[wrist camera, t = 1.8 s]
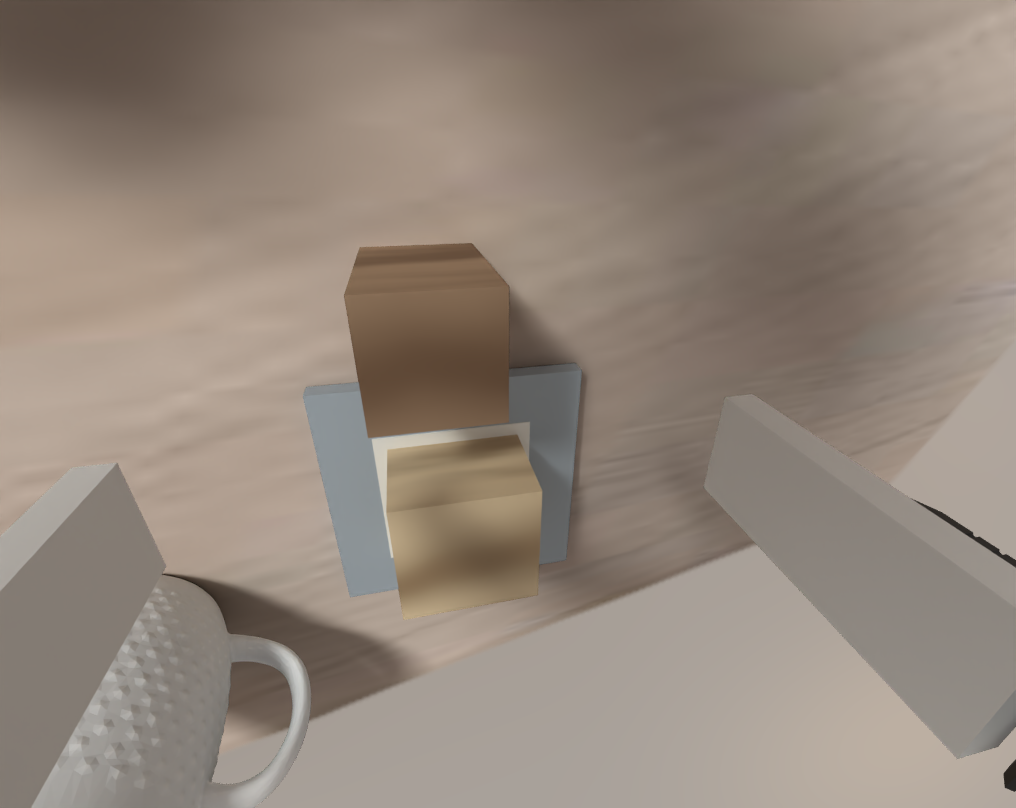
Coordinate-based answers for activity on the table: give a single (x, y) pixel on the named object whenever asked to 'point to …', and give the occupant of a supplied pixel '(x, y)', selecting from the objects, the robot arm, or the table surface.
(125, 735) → the mug
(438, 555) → the oak block
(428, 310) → the walnut block
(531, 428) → the blueprint board
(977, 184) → the table surface
